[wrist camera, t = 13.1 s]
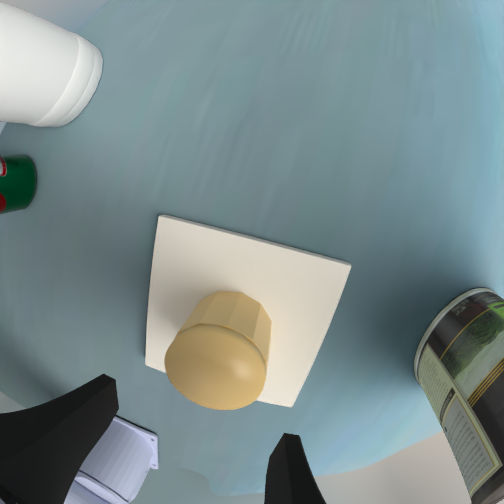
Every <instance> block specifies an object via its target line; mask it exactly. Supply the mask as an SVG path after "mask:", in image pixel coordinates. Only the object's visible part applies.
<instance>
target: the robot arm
mask: <svg viewBox="0 0 504 504" xmlns="http://www.w3.org/2000/svg"><path fill="white" fill-rule="evenodd" d="M118 409H119V405H118V398H117V390H116V380H115V379H113V378H111V377H109V376H107V375H105V374H102V375H100V376H99V377H97V378H95V379H93V380H91V381H90V382H88V383H86V384H84V385H82V386H81V387H79V388H77V389H75V390H73V391H71V392H69V393H67V394H65V395H63V396H61V397H58V398H56V399H54V400H51V401H49V402H47V403H44V404H41V405H38V406H35V407H32V408H28V409H25V410H20V411H15V412H10V413H1V414H0V504H130V503H129V502H130V501H132V500H133V499H134V498H135V497H136V495H137V493H138V491H139V489H140V487H141V485H142V483H143V481H144V479H145V477H146V475H147V473H148V471H149V469H150V468H153V469H158V437H157V435H155V434H154V433H151V432H149V431H146V430H144V429H142V428H139V427H137V426H135V425H133V424H130V423H128V422H126V421H124V420H122V419H120V418H118V417H116V416H115V415H116V413H117V411H118ZM264 504H326V502H325V500H324V499H323V497H322V495H321V493H320V490H319V489H318V487H317V484H316V482H315V479H314V477H313V475H312V472H311V470H310V467H309V464H308V461H307V458H306V456H305V452H304V449H303V446H302V442H301V439H300V436H299V435H293V434H287V433H284V434H283V436H282V437H281V439H280V441H279V442H278V444H277V446H276V447H275V449H274V451H273V452H272V454H271V455H270V458H269V463H268V469H267V474H266V485H265V502H264Z"/></svg>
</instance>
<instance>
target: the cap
mask: <svg viewBox="0 0 504 504" xmlns="http://www.w3.org/2000/svg"><path fill="white" fill-rule="evenodd" d="M271 325H272V321H271V319H270V318H269V316H268V314H267V313H266V311H265V310H264V308H263V306H262V305H261V303H259V302H257V301H256V300H254V299H252V298H250V297H249V296H247V295H245V294H244V293H242V292H229V291H218V292H216V293H214V294H212V295H210V296H208V297H206V298H204V299H202V300H201V301H200V302H199V303H198V305H197V306H196V308H195V309H194V310H193V312H192V313H191V315H190V316H189V317H188V319H187V320H186V321H185V323H184V324H183V326H182V327H181V328H180V330H179V331H178V333H177V335H176V337H175V338H174V340H173V342H172V343H171V344H170V346H169V348H168V349H167V351H166V354H165V358H164V365H165V370H166V373H167V376H168V378H169V380H170V381H171V383H172V384H173V386H174V387H175V388H176V389H177V390H178V391H179V392H180V393H181V394H182V395H184V396H185V397H186V398H188V399H189V400H191V401H193V402H195V403H197V404H199V405H202V406H204V407H208V408H212V409H218V410H232V409H238V408H242V407H245V406H247V405H249V404H250V403H252V402H254V401H255V400H256V399H257V398H258V397H259V395H260V394H261V392H262V391H263V388H264V383H265V381H266V375H267V367H268V360H269V352H270V343H271Z"/></svg>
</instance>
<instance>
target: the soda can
mask: <svg viewBox="0 0 504 504" xmlns="http://www.w3.org/2000/svg"><path fill="white" fill-rule="evenodd" d="M36 181H37V179H36V170H35V167H34V165H33V163H32V161H31V160H30V158H28V157H27V156H24V155H14V156H0V214H3V213H8V212H13V211H17V210H22V209H25V208H26V207H27V206H28V205H29V203H30V202H31V200H32V198H33V196H34V193H35V189H36Z"/></svg>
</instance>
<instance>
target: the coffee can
mask: <svg viewBox="0 0 504 504" xmlns="http://www.w3.org/2000/svg"><path fill="white" fill-rule="evenodd" d="M414 373H415V377H416V380H417V382H418V383H419V384H420V385H421V387H422V389H423V391H424V392H425V394H426V396H427V398H428V400H429V402H430V404H431V406H432V408H433V410H434V412H435V414H436V416H437V418H438V420H439V422H440V425H441V427H442V429H443V431H444V433H445V435H446V437H447V440H448V442H449V444H450V446H451V449H452V451H453V453H454V456H455V458H456V461H457V463H458V466H459V468H460V471H461V474H462V476H463V479H464V481H465V484H466V487H467V490H468V493H469V495H470V498H471V501H472V504H496V503H498V502H499V501H501V500H502V499H504V299H502V298H501V297H499V296H498V295H497V294H496V293H495V292H494V291H492V290H490V289H487V288H476V289H472V290H470V291H467V292H465V293H463V294H461V295H460V296H458V297H456V298H455V299H454V300H452V301H451V302H450V303H449V304H448V305H447V306H446V307H445V308H444V309H443V310H442V311H441V312H440V313H439V314H438V315H437V316H436V317H435V318H434V320H433V321H432V322H431V324H430V325H429V327H428V328H427V330H426V332H425V333H424V335H423V337H422V339H421V341H420V343H419V346H418V348H417V351H416V355H415V360H414Z"/></svg>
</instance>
